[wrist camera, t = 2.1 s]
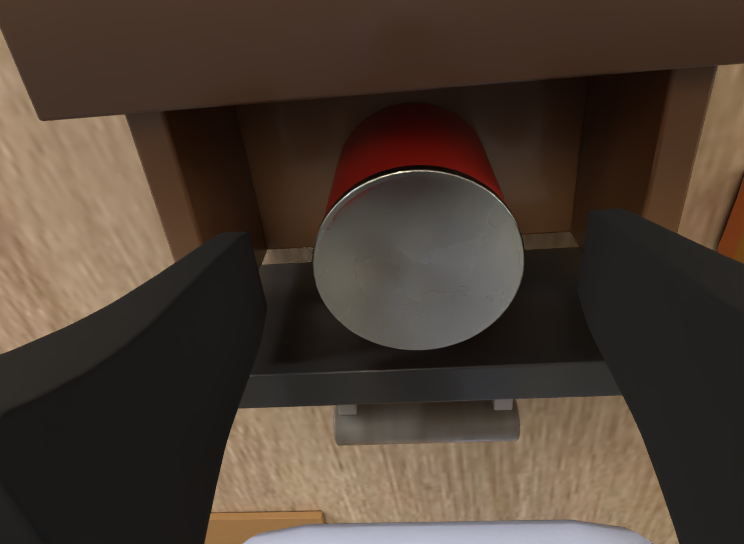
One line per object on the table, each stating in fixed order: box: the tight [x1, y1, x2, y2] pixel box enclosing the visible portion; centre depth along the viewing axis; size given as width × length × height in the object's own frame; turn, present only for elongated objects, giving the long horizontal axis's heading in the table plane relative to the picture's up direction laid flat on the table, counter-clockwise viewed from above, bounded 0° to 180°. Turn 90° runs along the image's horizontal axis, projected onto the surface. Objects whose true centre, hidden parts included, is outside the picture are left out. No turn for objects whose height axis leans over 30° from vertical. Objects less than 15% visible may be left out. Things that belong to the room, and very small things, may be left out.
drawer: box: [125, 66, 717, 446], centre depth 14 cm, size 16×12×6 cm
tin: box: [312, 103, 525, 350], centre depth 13 cm, size 4×4×5 cm
